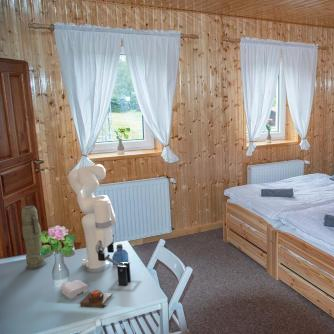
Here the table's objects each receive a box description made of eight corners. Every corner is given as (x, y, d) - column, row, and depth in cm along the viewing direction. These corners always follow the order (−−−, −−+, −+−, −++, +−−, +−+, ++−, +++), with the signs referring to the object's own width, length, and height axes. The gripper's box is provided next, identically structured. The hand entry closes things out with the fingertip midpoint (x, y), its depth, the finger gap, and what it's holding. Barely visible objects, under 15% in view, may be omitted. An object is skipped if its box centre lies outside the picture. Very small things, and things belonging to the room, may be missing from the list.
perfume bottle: (123, 267, 216) (121, 248, 213) (113, 267, 217) (111, 247, 214) (128, 263, 222) (127, 243, 219) (118, 262, 223) (117, 242, 220)
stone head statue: (36, 270, 213) (28, 210, 206) (22, 266, 218) (13, 207, 211) (50, 264, 221) (43, 205, 213) (36, 260, 226) (29, 203, 218)
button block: (80, 306, 178) (79, 299, 177) (90, 296, 187) (89, 288, 186) (103, 308, 177) (102, 300, 176) (112, 297, 186) (111, 290, 185)
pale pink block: (73, 283, 199) (89, 293, 190) (55, 291, 192) (71, 301, 183) (72, 275, 198) (88, 284, 189) (54, 282, 191) (70, 292, 182)
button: (90, 297, 179) (89, 293, 179) (94, 293, 183) (93, 289, 183) (97, 297, 179) (97, 294, 179) (101, 293, 183) (101, 290, 182)
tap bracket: (109, 289, 193) (107, 267, 190) (117, 280, 202) (115, 259, 199) (132, 290, 192) (131, 269, 189) (139, 281, 200) (138, 260, 198)
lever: (102, 261, 192) (104, 257, 192) (106, 256, 197) (108, 253, 197) (122, 273, 192) (124, 269, 192) (127, 268, 197) (129, 264, 197)
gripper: (104, 218, 199) (107, 249, 203) (87, 230, 183) (90, 263, 186) (118, 218, 199) (120, 249, 202) (102, 230, 182) (105, 264, 185)
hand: (106, 256), depth 194 cm, fingers open, 9 cm apart
